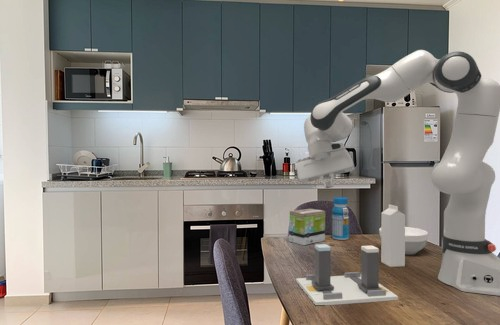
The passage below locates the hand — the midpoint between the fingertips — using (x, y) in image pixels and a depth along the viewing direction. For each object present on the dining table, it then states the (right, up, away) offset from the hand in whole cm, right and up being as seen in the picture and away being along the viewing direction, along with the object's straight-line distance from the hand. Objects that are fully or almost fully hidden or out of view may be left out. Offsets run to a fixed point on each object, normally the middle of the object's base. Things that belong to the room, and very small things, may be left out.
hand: (329, 187), depth 117 cm
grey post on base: (+7, -28, -20) cm, 35 cm away
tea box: (-1, -29, +41) cm, 51 cm away
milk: (+25, -29, +7) cm, 39 cm away
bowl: (+37, -29, +25) cm, 53 cm away
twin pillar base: (0, -30, -17) cm, 34 cm away
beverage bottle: (+17, -29, +47) cm, 58 cm away
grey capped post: (-6, -28, -18) cm, 34 cm away
